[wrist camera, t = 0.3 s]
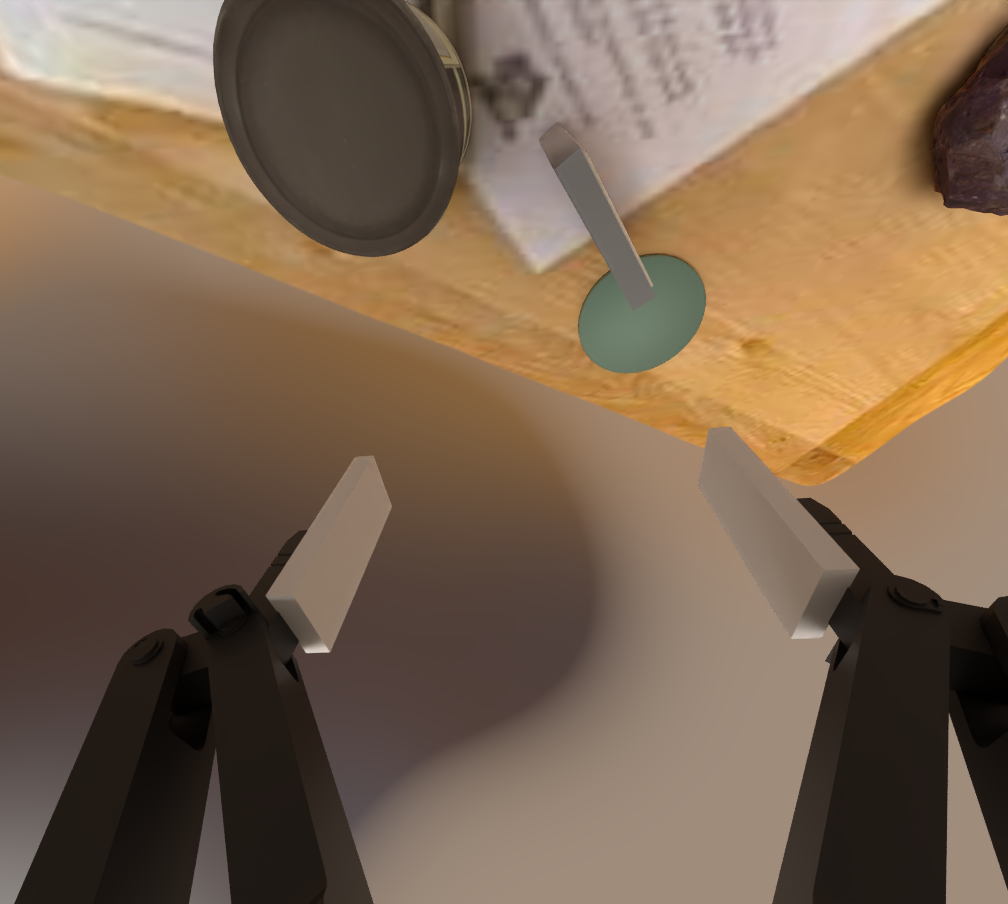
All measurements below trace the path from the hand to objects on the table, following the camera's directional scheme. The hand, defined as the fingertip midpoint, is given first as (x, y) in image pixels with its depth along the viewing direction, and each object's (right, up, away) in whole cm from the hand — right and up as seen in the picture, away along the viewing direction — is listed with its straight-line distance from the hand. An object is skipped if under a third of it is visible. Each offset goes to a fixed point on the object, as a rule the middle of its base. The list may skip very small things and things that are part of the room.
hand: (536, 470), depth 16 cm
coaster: (+12, +14, +23) cm, 29 cm away
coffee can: (-9, +25, +12) cm, 29 cm away
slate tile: (+5, +21, +15) cm, 27 cm away
